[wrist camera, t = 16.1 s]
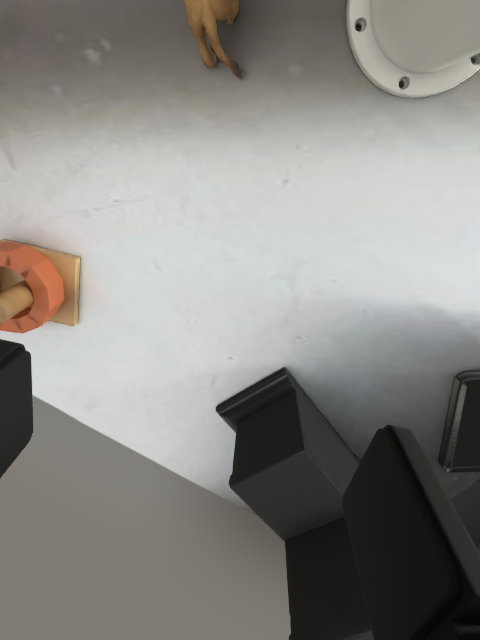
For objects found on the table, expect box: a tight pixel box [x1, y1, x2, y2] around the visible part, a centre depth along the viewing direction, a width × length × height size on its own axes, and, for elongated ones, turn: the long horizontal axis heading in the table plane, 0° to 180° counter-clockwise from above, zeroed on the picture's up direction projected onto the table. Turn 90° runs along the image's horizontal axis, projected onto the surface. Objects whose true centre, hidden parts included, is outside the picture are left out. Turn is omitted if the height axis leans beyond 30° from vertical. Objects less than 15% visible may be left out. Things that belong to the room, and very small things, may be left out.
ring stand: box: [0, 239, 80, 326], centre depth 35 cm, size 8×8×8 cm
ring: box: [0, 241, 64, 333], centre depth 36 cm, size 9×9×3 cm
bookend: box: [216, 368, 374, 640], centre depth 36 cm, size 23×11×24 cm, turn 36°
